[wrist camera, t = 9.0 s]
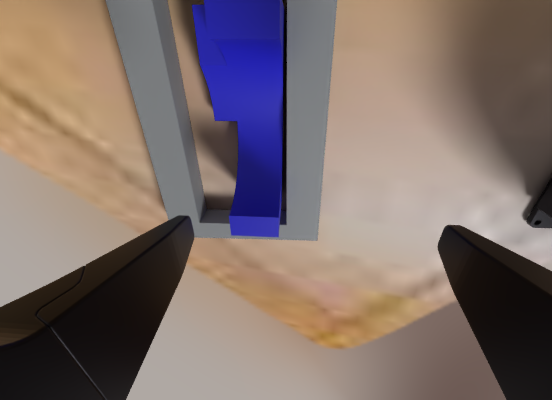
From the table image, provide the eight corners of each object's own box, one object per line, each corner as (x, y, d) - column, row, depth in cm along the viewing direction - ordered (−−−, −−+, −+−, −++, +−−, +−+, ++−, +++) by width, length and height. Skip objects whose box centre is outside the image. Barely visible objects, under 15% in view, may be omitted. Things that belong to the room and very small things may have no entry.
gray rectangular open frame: (336, -56, 13) (342, -71, 11) (315, 225, 22) (317, 240, 21) (114, -45, 14) (89, -58, 12) (182, 222, 23) (173, 236, 22)
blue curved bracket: (209, 11, 15) (165, -7, 10) (284, 11, 15) (279, -8, 10) (228, 189, 21) (207, 234, 16) (282, 190, 21) (278, 237, 16)
